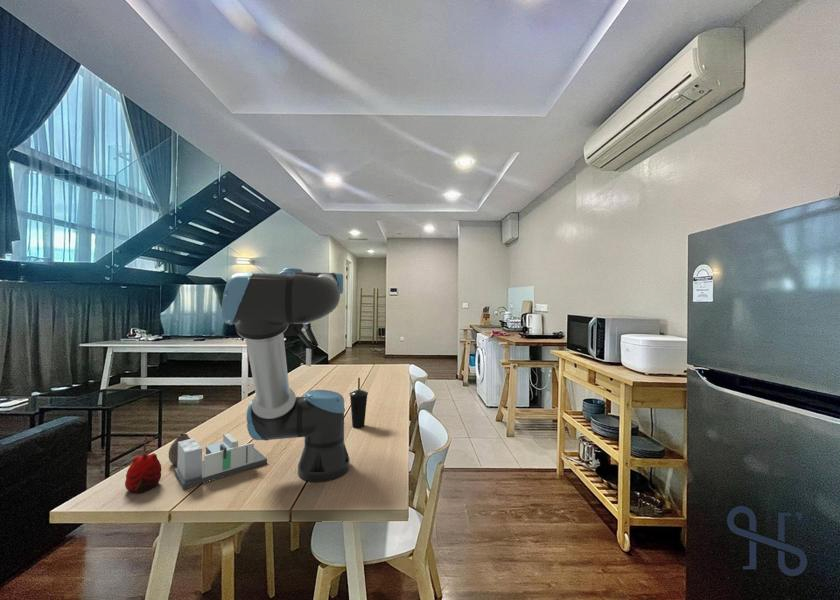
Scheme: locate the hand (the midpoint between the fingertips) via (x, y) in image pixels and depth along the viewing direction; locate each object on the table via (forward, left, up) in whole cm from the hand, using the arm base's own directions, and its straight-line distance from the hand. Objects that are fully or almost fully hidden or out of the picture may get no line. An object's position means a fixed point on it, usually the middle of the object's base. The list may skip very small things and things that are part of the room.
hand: (291, 368), depth 124 cm
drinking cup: (-4, -27, -27) cm, 39 cm away
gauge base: (-6, +24, -27) cm, 36 cm away
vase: (+7, +32, -27) cm, 42 cm away
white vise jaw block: (-6, +32, -25) cm, 41 cm away
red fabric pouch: (-4, +42, -27) cm, 50 cm away
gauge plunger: (-7, +24, -25) cm, 35 cm away
